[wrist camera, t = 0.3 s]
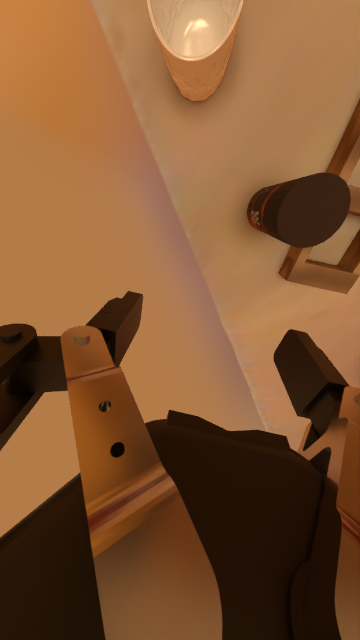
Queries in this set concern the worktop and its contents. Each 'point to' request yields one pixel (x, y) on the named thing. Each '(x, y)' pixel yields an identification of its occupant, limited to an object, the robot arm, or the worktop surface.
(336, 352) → the worktop surface
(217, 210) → the worktop surface
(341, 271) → the wooden divided tray
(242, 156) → the worktop surface
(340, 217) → the deodorant
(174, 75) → the white cup
